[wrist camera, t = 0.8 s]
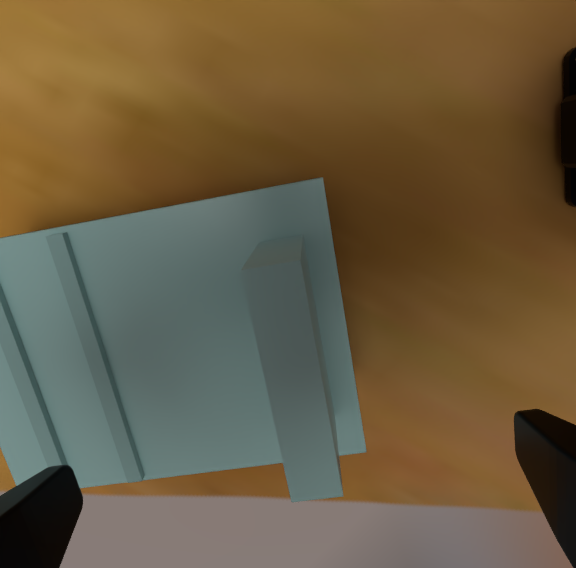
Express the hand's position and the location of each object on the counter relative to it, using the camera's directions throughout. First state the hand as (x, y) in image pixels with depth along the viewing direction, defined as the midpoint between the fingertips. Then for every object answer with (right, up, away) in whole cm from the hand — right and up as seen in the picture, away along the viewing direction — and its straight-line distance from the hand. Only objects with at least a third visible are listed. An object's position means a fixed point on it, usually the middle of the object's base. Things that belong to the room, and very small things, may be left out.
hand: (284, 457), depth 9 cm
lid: (-5, +1, +8) cm, 9 cm away
